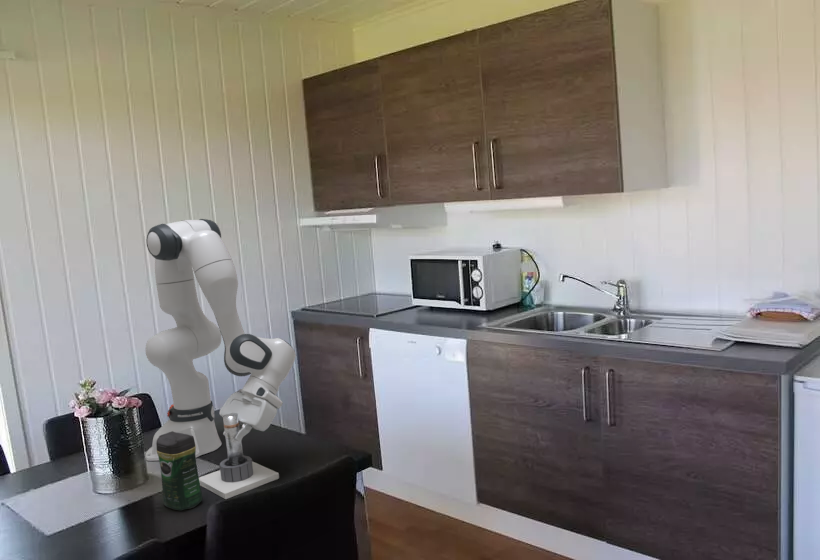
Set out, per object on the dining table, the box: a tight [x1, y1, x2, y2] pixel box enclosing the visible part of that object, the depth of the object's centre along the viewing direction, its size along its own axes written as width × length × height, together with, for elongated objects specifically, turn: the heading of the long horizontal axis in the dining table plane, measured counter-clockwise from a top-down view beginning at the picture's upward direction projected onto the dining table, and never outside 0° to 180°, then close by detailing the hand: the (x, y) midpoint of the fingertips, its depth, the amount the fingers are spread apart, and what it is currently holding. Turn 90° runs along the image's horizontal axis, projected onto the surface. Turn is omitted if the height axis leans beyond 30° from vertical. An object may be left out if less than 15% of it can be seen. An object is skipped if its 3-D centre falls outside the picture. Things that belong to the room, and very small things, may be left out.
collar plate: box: [199, 455, 280, 500], centre depth 190 cm, size 16×16×6 cm
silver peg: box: [222, 413, 244, 466], centre depth 189 cm, size 4×4×14 cm
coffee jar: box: [156, 431, 203, 511], centre depth 177 cm, size 10×8×19 cm
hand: (231, 438), depth 188 cm, fingers closed on silver peg, 4 cm apart
